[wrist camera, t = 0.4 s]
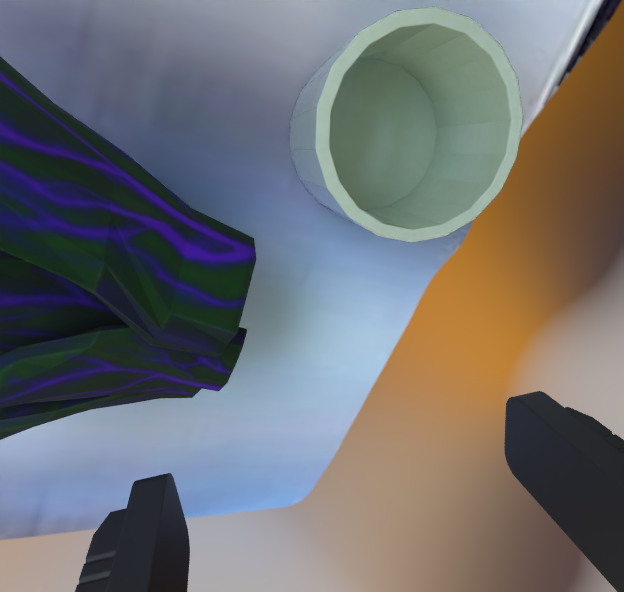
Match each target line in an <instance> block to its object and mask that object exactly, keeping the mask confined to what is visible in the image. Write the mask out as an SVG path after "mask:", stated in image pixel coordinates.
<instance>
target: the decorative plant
mask: <svg viewBox="0 0 624 592" xmlns="http://www.w3.org/2000/svg"><path fill="white" fill-rule="evenodd" d="M255 262H256V253H255V244H254V238H252V237H250V236H248V235H246V234H244V233H242V232H240V231H238V230H236V229H234V228H231V227H229V226H227V225H225V224H223V223H221V222H219V221H217V220H215V219H212V218H210V217H208V216H206V215H204V214H202V213H200V212H198V211H196V210H194V209H191V208H190V207H189V206H188V205H186V204H185V203H184V202H183V201H182V200H180V199H179V198H178V197H177V196H176V195H175V194H173V193H172V192H171V191H170V190H169V189H167V188H166V187H165V186H164V185H163V184H161V183H160V182H159V181H158V180H157V179H155V178H154V177H153V176H152V175H151V174H149V173H148V172H147V171H146V170H145V169H144V168H142V167H141V166H140V165H139V164H138V163H136V162H135V161H134V160H133V159H132V158H130V157H129V156H128V155H127V154H126V153H124V152H123V151H122V150H120V149H119V148H117V147H116V146H115V145H113V144H112V143H110V142H109V141H107V140H106V139H105V138H103V137H102V136H100V135H99V134H97V133H96V132H94V131H93V130H92V129H90V128H89V127H87V126H86V125H84V124H83V123H82V122H80V121H79V120H77V119H76V118H74V117H73V116H72V115H70V114H69V113H67V112H66V111H64V110H63V109H61V108H60V107H59V106H57V105H56V104H54V103H53V102H52V101H51V100H50V99H48V98H47V97H46V96H45V95H44V94H43V93H42V92H40V91H39V90H38V89H37V88H36V87H35V86H34V85H32V84H31V83H30V82H29V81H28V80H27V79H26V78H24V77H23V76H22V75H21V74H20V73H19V72H17V71H16V70H15V69H14V68H13V67H12V66H11V65H9V64H8V63H7V62H6V61H5V60H4V59H3V58H1V57H0V440H1V439H3V438H6V437H8V436H11V435H14V434H16V433H19V432H21V431H24V430H26V429H29V428H32V427H34V426H38V425H41V424H44V423H47V422H50V421H54V420H57V419H60V418H63V417H66V416H70V415H73V414H76V413H80V412H83V411H87V410H91V409H96V408H103V407H109V406H116V405H122V404H129V403H135V402H141V401H147V400H153V399H159V398H192V397H193V396H194V395H195V394H197V393H198V392H199V391H200V390H201V389H202V388H203V389H209V390H215V391H220V390H221V388H222V387H223V386H224V385H225V384H226V383H227V382H228V380H229V377H230V375H231V373H232V371H233V369H234V367H235V365H236V362H237V360H238V357H239V355H240V352H241V349H242V347H243V343H244V340H245V337H246V333H247V329H244V328H240V327H239V323H240V319H241V316H242V312H243V308H244V304H245V300H246V296H247V293H248V289H249V285H250V281H251V277H252V273H253V270H254V266H255Z"/></svg>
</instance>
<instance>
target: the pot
mask: <svg viewBox="0 0 624 592" xmlns="http://www.w3.org/2000/svg"><path fill="white" fill-rule="evenodd" d="M522 118H523V113H522V105H521V98H520V91H519V84H518V80H517V76H516V74H515V72H514V70H513V68H512V66H511V64H510V62H509V60H508V58H507V56H506V54H505V52H504V50H503V48H502V46H501V45H500V44H499V43H498V42H497V41H496V40H495V39H494V38H493V37H492V36H491V35H489V34H488V33H487V32H486V31H485V30H484V29H483V28H482V27H481V26H479V25H478V24H477V23H476V22H475V21H474V20H472V18H469V17H466V16H463V15H460V14H457V13H454V12H451V11H448V10H445V9H442V8H439V7H426V8H417V9H408V10H399V11H395V12H393V13H391V14H390V15H388V16H386V17H384V18H383V19H381V20H379V21H377V22H375V23H374V24H372V25H370V26H368V27H367V28H365V29H363V30H361V31H360V32H359V33H358V34H357V35H355V36H354V37H353V38H352V39H351V40H350V41H349V42H347V43H346V44H345V45H344V46H343V47H342V48H341V49H339V50H338V51H337V52H336V53H335V54H334V55H333V56H331V57H330V58H329V59H328V60H327V61H326V62H325V63H323V64H322V65H321V66H320V67H319V69H318V70H317V71H316V72H315V73H314V74H313V75H312V77H311V78H310V79H309V81H308V82H307V83H306V84H305V86H304V87H303V88H302V90H301V92H300V95H299V97H298V99H297V102H296V104H295V107H294V110H293V114H292V117H291V124H290V151H291V155H292V159H293V163H294V166H295V169H296V171H297V173H298V176H299V178H300V180H301V181H302V183H303V184H304V186H305V187H306V189H307V190H308V191H309V192H310V194H311V195H312V196H313V197H314V198H315V200H316V201H317V202H319V203H321V204H322V205H324V206H325V207H327V208H329V209H330V210H332V211H333V212H335V213H337V214H338V215H340V216H342V217H344V218H345V219H347V220H349V221H351V222H353V223H355V224H357V225H358V226H360V227H362V228H364V229H366V230H368V231H370V232H371V233H373V234H375V235H377V236H380V237H385V238H390V239H395V240H401V241H406V242H418V241H423V240H429V239H434V238H440V237H445V236H446V235H448V234H450V233H452V232H453V231H455V230H457V229H459V228H460V227H462V226H464V225H466V224H467V223H469V222H471V221H473V220H474V219H475V218H477V217H478V215H479V214H480V213H481V212H482V211H483V210H484V209H485V208H486V207H487V206H488V204H489V203H490V202H491V201H492V200H493V199H494V198H495V197H496V196H497V195H498V193H499V192H500V191H501V189H502V187H503V185H504V183H505V181H506V179H507V177H508V174H509V172H510V170H511V168H512V166H513V164H514V162H515V160H516V156H517V153H518V147H519V141H520V135H521V129H522V123H523V119H522Z"/></svg>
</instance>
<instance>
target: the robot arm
mask: <svg viewBox="0 0 624 592" xmlns="http://www.w3.org/2000/svg"><path fill="white" fill-rule="evenodd" d="M505 421H506V422H505V456H506V460H507V463H508V465H509V467H510V470H511V471H512V473H513V474H514V476H515V477H516V478H517V479H518V480H519V482H520V483H521V484H522V485H523V486H524V487H525V488H526V489H527V491H528V492H529V493H530V494H531V495H532V496H533V497H534V498H535V500H536V501H537V502H538V503H539V504H540V505H541V506H542V507H543V509H544V510H545V511H546V512H547V513H548V514H549V515H550V516H551V518H552V519H553V520H554V521H555V522H556V523H557V524H558V525H559V526H560V528H561V529H562V530H563V531H564V532H565V533H566V534H567V535H568V537H569V538H570V539H571V540H572V541H573V542H574V543H575V544H576V546H577V547H578V548H579V549H580V550H581V551H582V552H583V553H584V555H585V556H586V557H587V558H588V559H589V560H590V561H591V563H592V564H593V565H594V566H595V567H596V568H597V569H598V570H599V571H600V573H601V574H602V575H603V576H604V577H605V578H606V579H607V581H608V582H609V583H610V584H611V585H612V586H613V587H614V588H615V589H616V591H617V592H624V440H623V439H621V438H620V437H618V436H617V435H613V434H612V431H610V430H609V429H607V428H606V427H605V426H603V425H602V424H601V423H599V422H598V421H597V420H595V419H594V418H593V417H590V416H588V415H586V414H583V413H581V412H578V411H576V410H574V409H571V408H569V407H566V408H564V407H562V406H561V405H560V404H559V403H557V402H556V401H555V400H553V399H552V398H551V397H549V396H548V395H547V394H545V393H544V392H540V391H538V392H533V393H529V394H524V395H520V396H516V397H511V398H509V399H508V401H507V403H506V420H505ZM189 556H190V547H189V536H188V529H187V525H186V521H185V518H184V514H183V510H182V507H181V503H180V500H179V496H178V492H177V489H176V485H175V482H174V478H173V476H172V474H171V473H168V474H163V475H159V476H155V477H150V478H146V479H141V480H137V481H135V482H134V483H133V486H132V490H131V493H130V497H129V501H128V505H127V509H122V510H118V511H114V512H110V514H109V515H108V516H107V518H106V519H105V520H104V522H103V523H102V524H101V526H100V527H99V528H98V530H97V531H96V532H95V534H94V535H93V538H92V541H91V544H90V548H89V550H88V554H87V557H86V564H84V566H83V569H82V572H81V575H80V578H79V585H77V587H76V590H75V592H187V585H188V572H189Z"/></svg>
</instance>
